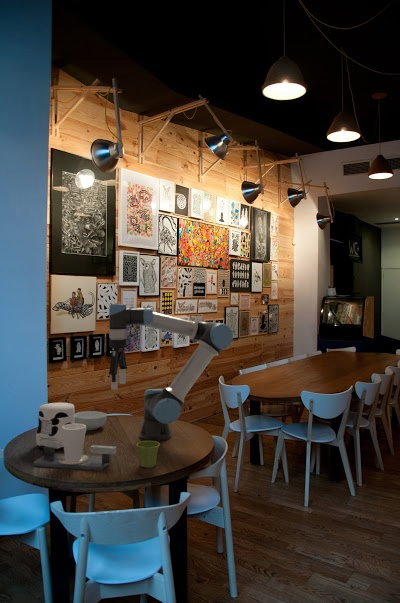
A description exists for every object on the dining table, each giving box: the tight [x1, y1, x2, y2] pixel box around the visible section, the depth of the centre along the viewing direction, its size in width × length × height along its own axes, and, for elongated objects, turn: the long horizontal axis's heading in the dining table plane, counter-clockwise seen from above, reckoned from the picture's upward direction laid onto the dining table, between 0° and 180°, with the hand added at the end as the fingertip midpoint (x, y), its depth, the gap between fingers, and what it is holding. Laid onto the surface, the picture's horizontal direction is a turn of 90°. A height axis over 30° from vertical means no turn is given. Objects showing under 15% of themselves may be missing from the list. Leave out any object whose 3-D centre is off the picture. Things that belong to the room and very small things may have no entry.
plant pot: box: [135, 440, 161, 469], centre depth 197 cm, size 9×9×9 cm
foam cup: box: [62, 423, 87, 461], centre depth 198 cm, size 10×9×13 cm
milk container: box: [35, 402, 75, 450], centre depth 219 cm, size 17×17×18 cm
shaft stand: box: [32, 438, 117, 472], centre depth 198 cm, size 34×13×7 cm, turn 83°
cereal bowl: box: [74, 410, 108, 431], centre depth 251 cm, size 17×17×7 cm
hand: (118, 386), depth 218 cm, fingers open, 13 cm apart
